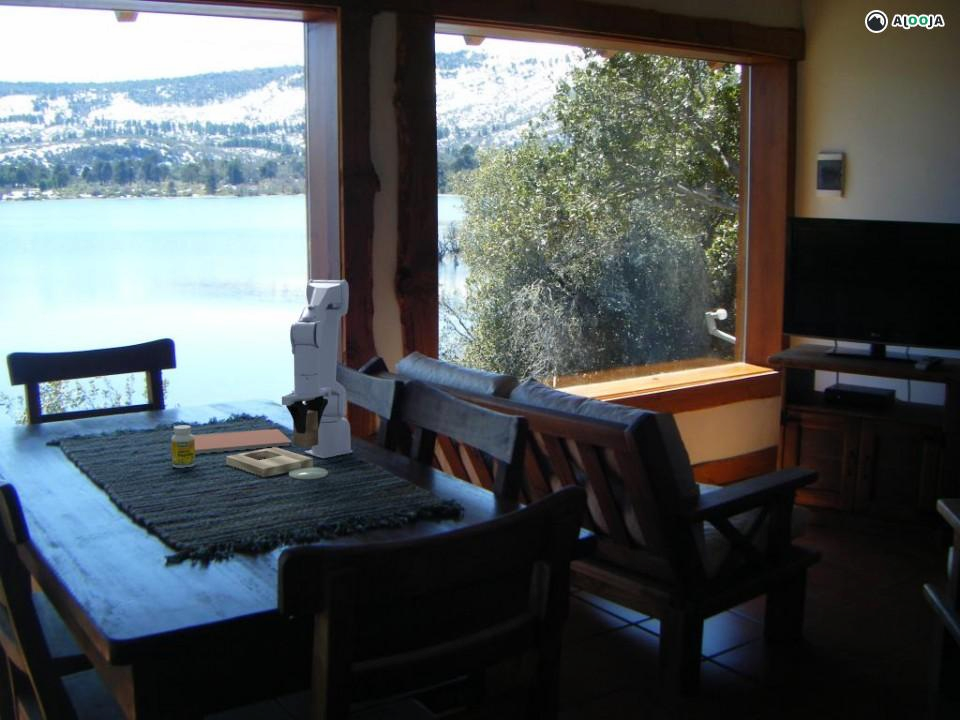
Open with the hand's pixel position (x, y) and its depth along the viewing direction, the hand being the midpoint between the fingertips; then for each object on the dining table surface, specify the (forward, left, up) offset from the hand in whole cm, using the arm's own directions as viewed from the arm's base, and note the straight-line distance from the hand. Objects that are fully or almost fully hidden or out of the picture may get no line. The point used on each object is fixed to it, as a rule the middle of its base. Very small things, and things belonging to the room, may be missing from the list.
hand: (307, 431), depth 244 cm
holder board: (+2, -13, -10) cm, 17 cm away
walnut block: (0, -1, -3) cm, 3 cm away
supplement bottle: (+17, -27, -11) cm, 34 cm away
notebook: (-4, -39, -11) cm, 40 cm away
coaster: (0, 0, -10) cm, 10 cm away
